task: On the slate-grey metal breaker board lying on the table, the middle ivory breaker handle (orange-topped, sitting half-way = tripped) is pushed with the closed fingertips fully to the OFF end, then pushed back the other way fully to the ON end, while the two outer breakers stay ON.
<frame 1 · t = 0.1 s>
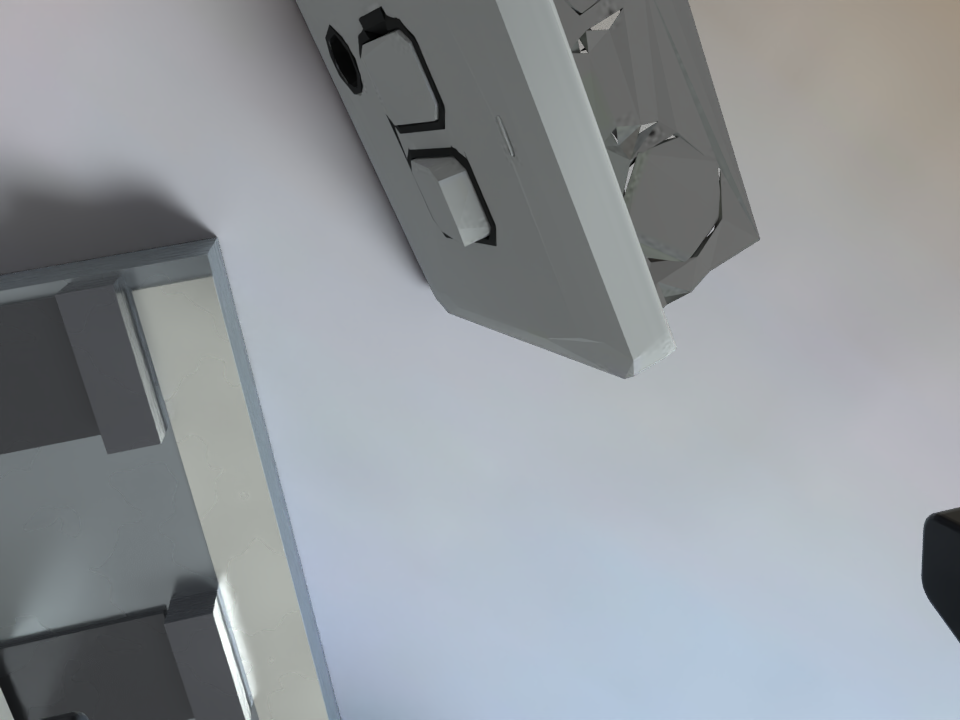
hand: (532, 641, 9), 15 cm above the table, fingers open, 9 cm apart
electrical switch: (457, 90, 21), on the table
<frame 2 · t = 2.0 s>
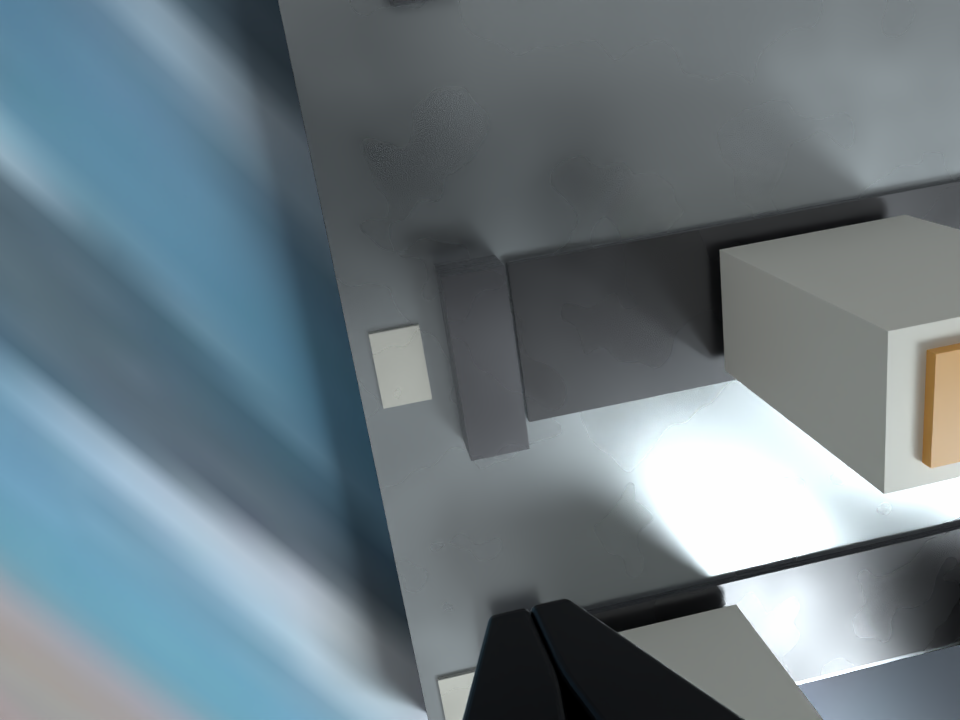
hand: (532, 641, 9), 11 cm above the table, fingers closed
breaker 2: (899, 334, 15), point 5 cm above the table, slide at 4.0 cm
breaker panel: (757, 266, 20), on the table
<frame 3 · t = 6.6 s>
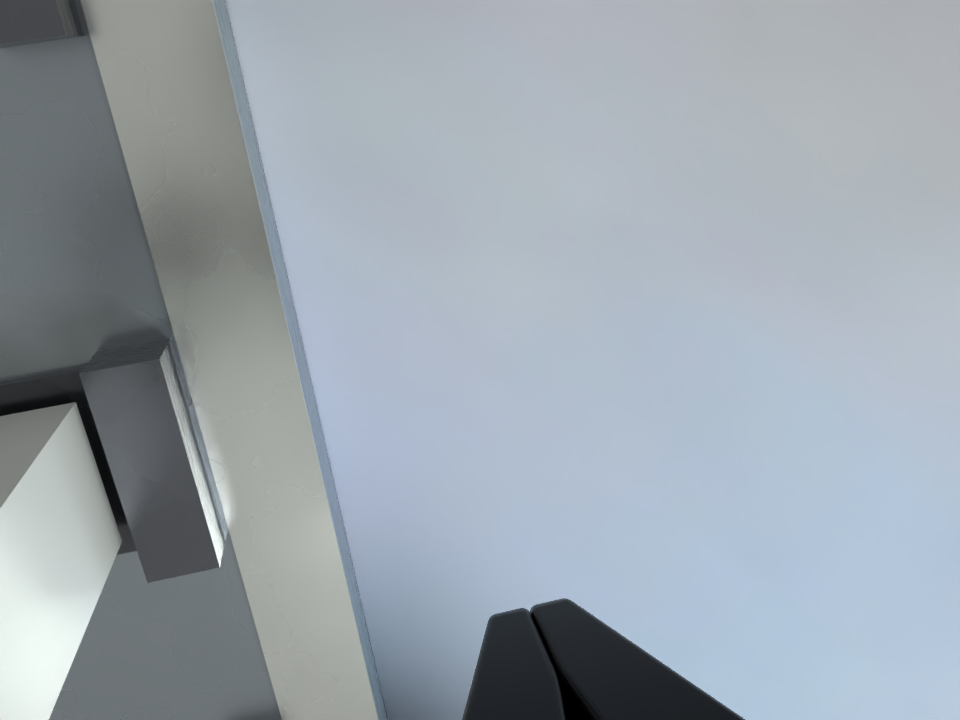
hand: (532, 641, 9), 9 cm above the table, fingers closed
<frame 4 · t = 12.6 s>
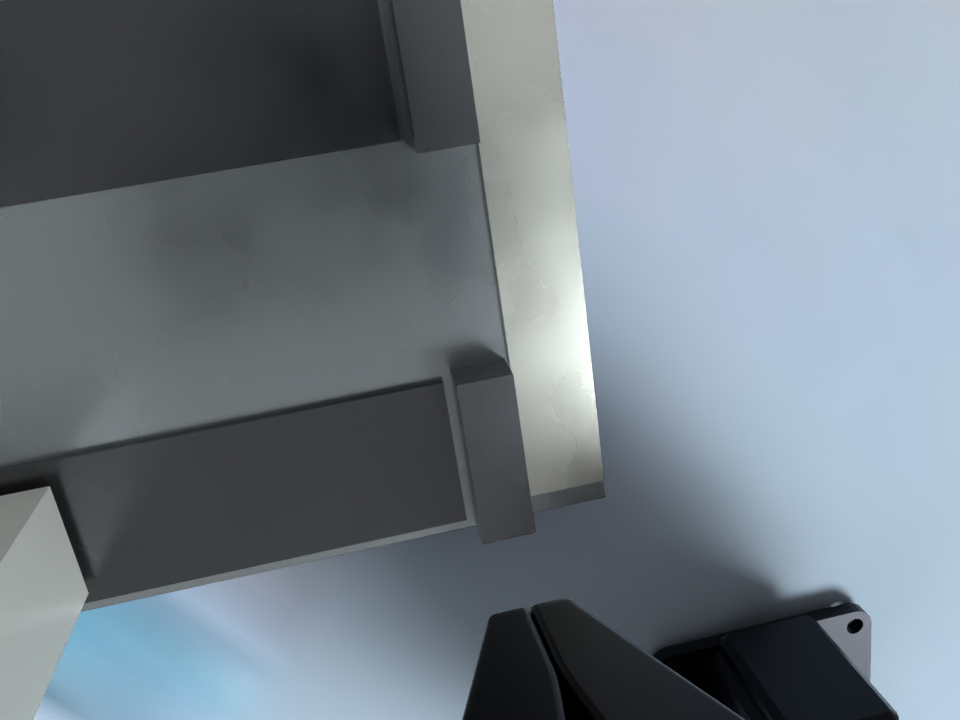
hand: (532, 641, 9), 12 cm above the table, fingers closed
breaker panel: (75, 96, 17), on the table
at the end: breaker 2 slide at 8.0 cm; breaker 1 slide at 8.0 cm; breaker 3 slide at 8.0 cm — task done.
